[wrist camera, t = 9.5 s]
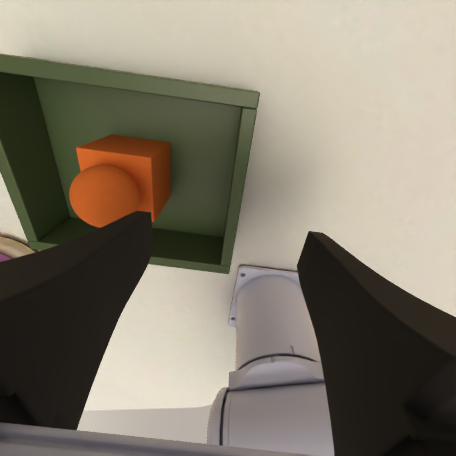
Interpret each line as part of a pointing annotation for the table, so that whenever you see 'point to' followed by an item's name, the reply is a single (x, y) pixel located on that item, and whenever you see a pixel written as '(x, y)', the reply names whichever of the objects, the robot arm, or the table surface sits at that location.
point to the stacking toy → (12, 249)
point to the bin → (131, 127)
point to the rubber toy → (121, 179)
